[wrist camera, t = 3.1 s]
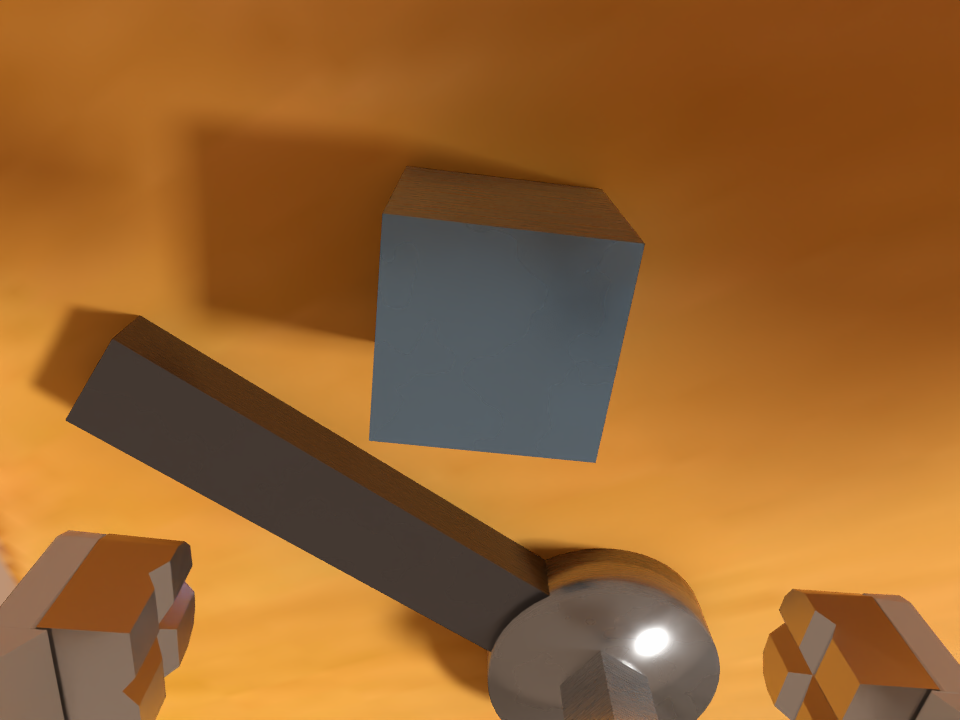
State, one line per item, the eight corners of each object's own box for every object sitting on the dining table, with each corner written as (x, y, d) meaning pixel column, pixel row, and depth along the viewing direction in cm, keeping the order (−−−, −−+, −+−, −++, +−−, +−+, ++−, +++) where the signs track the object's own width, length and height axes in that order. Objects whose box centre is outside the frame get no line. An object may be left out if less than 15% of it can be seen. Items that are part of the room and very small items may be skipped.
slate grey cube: (601, 189, 21) (644, 243, 16) (568, 364, 24) (595, 462, 18) (406, 165, 21) (382, 213, 16) (393, 346, 24) (369, 440, 18)
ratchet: (65, 443, 25) (-60, 569, 19) (177, 251, 22) (70, 331, 16) (603, 732, 32) (631, 889, 26) (745, 615, 29) (814, 763, 23)
